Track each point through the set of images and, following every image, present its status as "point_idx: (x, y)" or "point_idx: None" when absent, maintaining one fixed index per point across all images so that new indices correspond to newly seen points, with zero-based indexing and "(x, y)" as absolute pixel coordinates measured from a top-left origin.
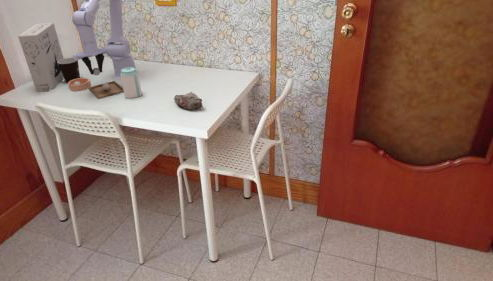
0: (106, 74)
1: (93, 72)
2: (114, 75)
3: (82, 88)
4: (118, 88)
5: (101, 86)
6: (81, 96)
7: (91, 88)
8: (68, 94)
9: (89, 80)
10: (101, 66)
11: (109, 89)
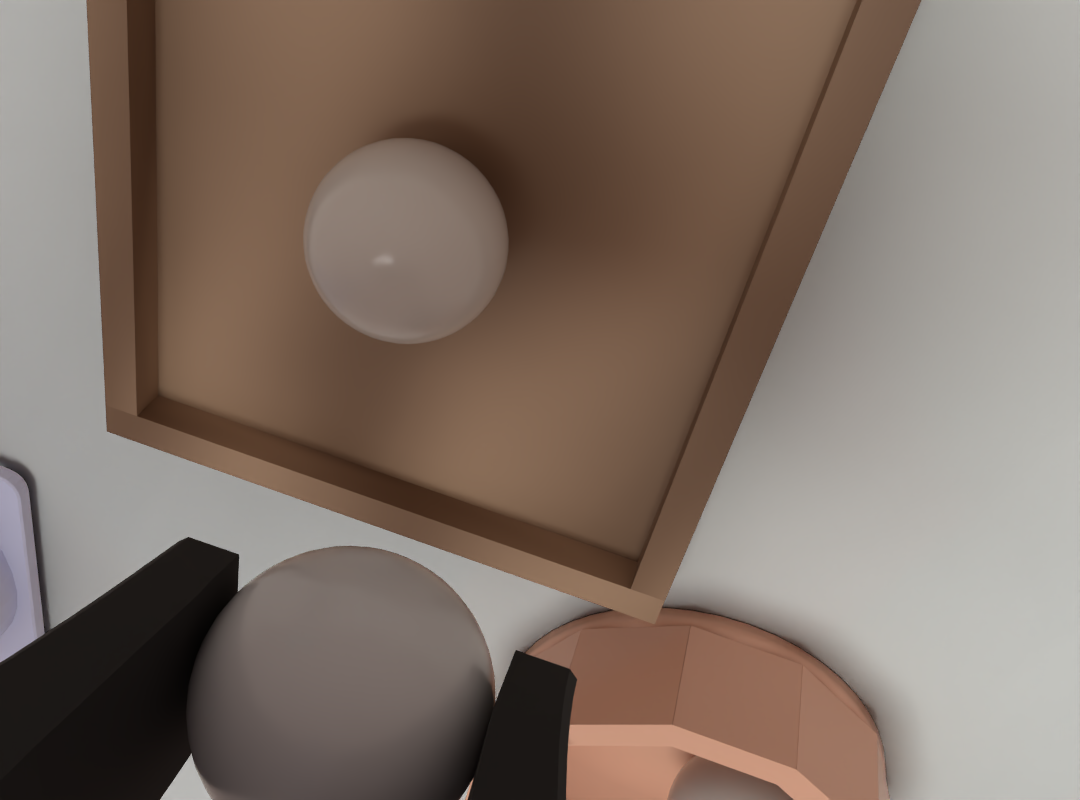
0: None
1: (474, 709)
2: (28, 630)
3: (752, 676)
4: (187, 47)
5: (410, 478)
6: (977, 480)
7: (609, 560)
8: (1019, 749)
9: None
10: (7, 696)
11: None
